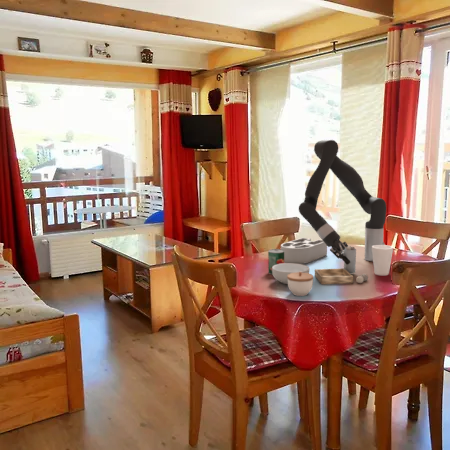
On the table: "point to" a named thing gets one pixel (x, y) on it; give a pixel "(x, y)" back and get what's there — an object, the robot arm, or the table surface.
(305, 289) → the lidded jar
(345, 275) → the birch tray
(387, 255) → the foam cup
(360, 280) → the pebble
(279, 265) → the cereal bowl
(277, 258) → the canned tomato
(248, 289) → the table surface
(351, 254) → the pebble jar
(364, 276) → the pebble
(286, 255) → the ice cube tray
